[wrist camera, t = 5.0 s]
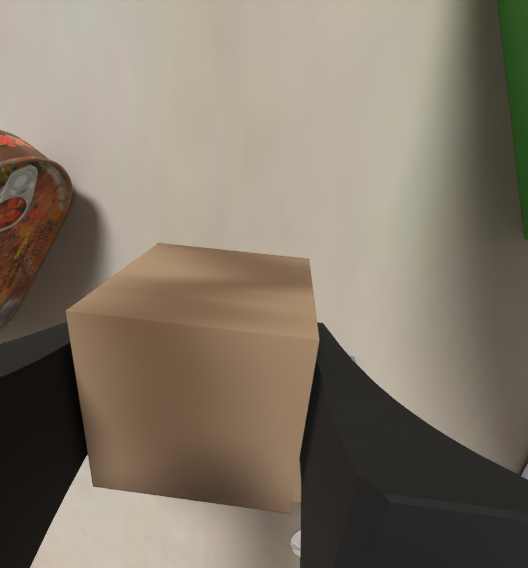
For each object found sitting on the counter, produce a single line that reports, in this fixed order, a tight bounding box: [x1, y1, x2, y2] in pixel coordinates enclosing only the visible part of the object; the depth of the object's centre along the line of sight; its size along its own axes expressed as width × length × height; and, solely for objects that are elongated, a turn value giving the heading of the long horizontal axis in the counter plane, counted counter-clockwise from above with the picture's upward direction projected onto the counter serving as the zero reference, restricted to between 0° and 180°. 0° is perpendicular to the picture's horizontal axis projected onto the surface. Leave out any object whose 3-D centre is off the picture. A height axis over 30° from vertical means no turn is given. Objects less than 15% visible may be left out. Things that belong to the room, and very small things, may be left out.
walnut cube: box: [66, 243, 319, 514], centre depth 10 cm, size 5×5×5 cm
